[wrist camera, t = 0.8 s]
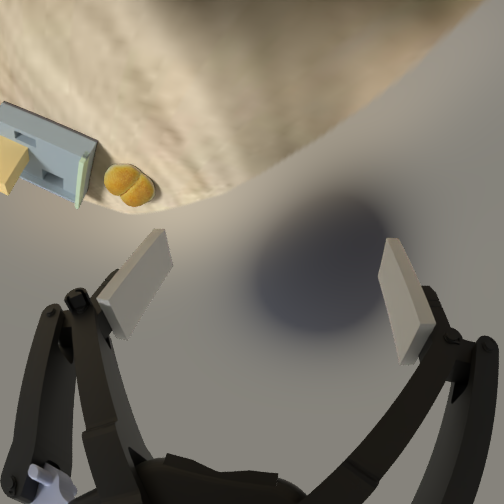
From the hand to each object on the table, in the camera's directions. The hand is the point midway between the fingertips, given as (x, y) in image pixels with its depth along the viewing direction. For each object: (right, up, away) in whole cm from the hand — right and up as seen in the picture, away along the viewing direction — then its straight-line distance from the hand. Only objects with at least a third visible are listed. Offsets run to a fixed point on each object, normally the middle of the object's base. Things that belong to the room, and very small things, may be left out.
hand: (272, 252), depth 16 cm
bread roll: (-21, +12, +27) cm, 36 cm away
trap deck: (-36, +18, +20) cm, 45 cm away
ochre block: (-41, +18, +16) cm, 48 cm away
